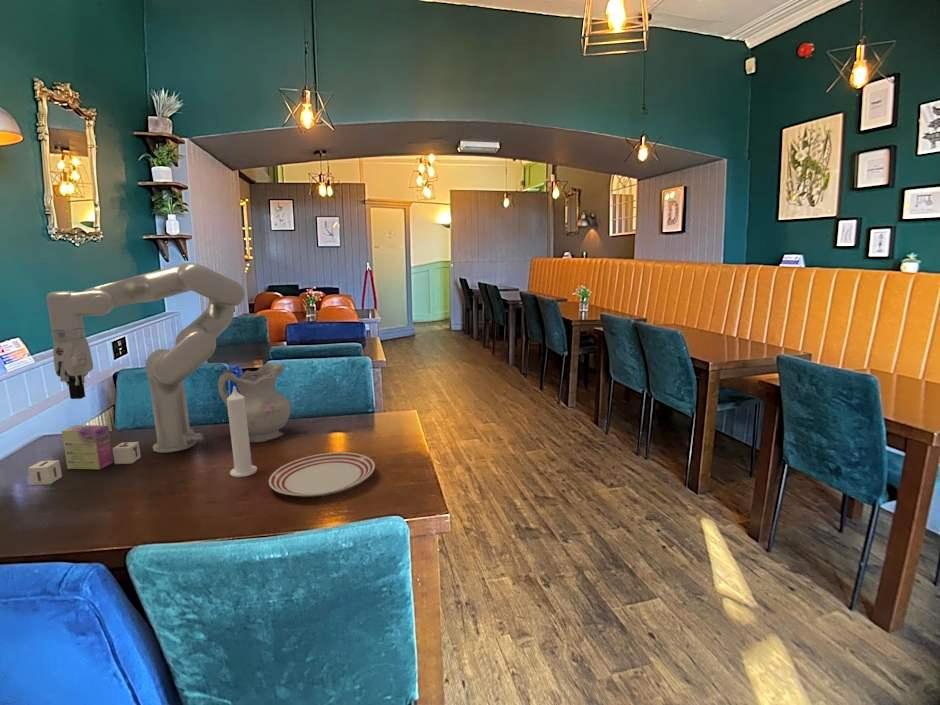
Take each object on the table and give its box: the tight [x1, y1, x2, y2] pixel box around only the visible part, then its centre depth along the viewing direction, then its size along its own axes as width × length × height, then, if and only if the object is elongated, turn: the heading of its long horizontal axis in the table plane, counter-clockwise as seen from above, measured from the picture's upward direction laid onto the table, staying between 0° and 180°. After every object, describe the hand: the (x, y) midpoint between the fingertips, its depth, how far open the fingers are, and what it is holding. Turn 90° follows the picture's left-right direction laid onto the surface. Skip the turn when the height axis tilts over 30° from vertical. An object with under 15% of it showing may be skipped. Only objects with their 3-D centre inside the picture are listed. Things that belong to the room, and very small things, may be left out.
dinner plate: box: [268, 451, 376, 498], centre depth 148 cm, size 28×27×3 cm
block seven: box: [111, 441, 142, 465], centre depth 167 cm, size 5×5×5 cm
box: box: [61, 424, 114, 470], centre depth 163 cm, size 10×6×12 cm, turn 84°
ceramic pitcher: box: [217, 362, 291, 443], centre depth 183 cm, size 22×20×25 cm
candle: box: [226, 385, 258, 478], centre depth 154 cm, size 7×7×25 cm
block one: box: [27, 459, 63, 486], centre depth 154 cm, size 5×5×5 cm
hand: (78, 397), depth 160 cm, fingers closed
